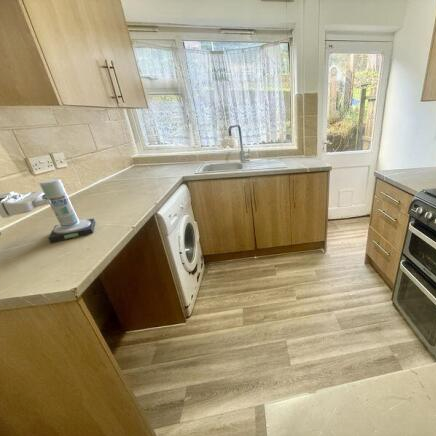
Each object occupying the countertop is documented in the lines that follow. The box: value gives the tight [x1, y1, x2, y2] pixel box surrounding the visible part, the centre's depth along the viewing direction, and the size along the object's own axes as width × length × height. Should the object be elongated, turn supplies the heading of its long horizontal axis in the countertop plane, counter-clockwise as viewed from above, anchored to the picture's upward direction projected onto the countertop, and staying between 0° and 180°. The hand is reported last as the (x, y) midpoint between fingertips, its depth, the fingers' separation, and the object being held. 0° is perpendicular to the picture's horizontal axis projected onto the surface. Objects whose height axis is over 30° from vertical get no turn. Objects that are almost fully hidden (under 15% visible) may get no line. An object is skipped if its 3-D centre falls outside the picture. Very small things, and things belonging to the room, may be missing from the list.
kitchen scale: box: [47, 218, 96, 244], centre depth 106 cm, size 14×14×3 cm
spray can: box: [38, 178, 80, 228], centre depth 102 cm, size 6×6×20 cm
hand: (55, 197), depth 101 cm, fingers open, 8 cm apart
